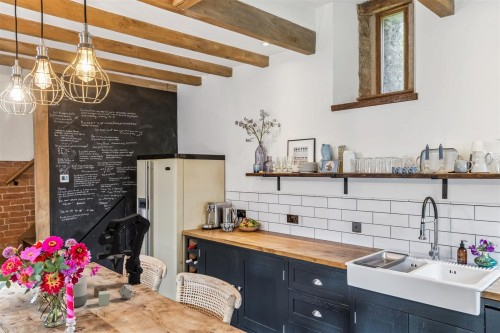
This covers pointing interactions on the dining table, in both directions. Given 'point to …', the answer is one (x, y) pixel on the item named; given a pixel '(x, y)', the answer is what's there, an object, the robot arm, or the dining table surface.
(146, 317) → the dining table surface
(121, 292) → the game die
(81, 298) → the smart speaker
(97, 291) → the walnut cube
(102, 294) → the sage block
